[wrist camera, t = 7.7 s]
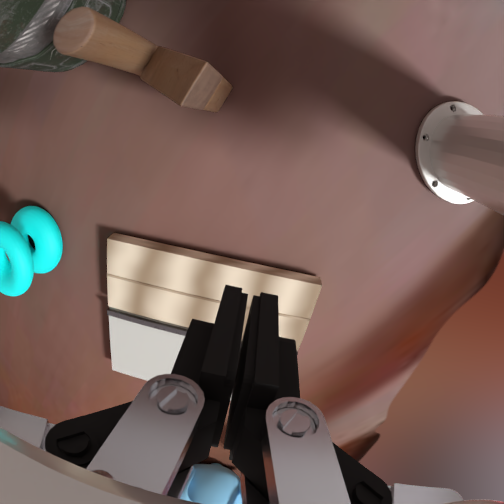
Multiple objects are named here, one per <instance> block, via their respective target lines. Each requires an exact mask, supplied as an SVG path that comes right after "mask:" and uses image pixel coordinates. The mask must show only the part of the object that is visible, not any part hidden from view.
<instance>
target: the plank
mask: <svg viewBox="0 0 504 504" xmlns="http://www.w3.org/2000/svg"><path fill="white" fill-rule="evenodd" d="M225 285H230V286H235V287H239V288H242V293H246V294H248V299H247V305H246V312H245V319H244V326H243V333H242V339H243V335H244V331H245V327H246V323H247V319H248V315H249V311H250V306H251V302H252V298H253V295H255V296H260V293H261V292H263V293H268V294H273V295H278V310H279V337H283V338H288V339H294V340H295V341H296V350H299V347H300V344H301V342H302V339H303V337H304V334H305V331H306V329H307V326H308V323H309V321H310V318H311V315H312V312H313V310H314V307H315V304H316V301H317V298H318V296H319V293H320V290H321V287H322V283H321V279H320V277H316V276H311V275H307V274H302V273H297V272H292V271H288V270H283V269H278V268H274V267H269V266H264V265H259V264H255V263H250V262H245V261H241V260H236V259H231V258H227V257H222V256H218V255H213V254H208V253H204V252H199V251H195V250H190V249H185V248H181V247H176V246H172V245H167V244H163V243H158V242H154V241H149V240H145V239H140V238H136V237H131V236H127V235H122V234H118V233H113V234H112V235H111V236H110V237H108V238H107V289H108V306H109V307H113V308H116V309H120V310H123V311H127V312H130V313H134V314H137V315H141V316H145V317H149V318H152V319H156V320H160V321H164V322H168V323H172V324H176V325H180V326H184V327H188V328H189V325H190V322H191V320H192V319H196V320H201V321H205V322H209V323H215V319H216V316H217V312H218V309H219V305H220V302H221V298H222V295H223V291H224V288H225Z"/></svg>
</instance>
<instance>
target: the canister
mask: <svg viewBox="0 0 504 504" xmlns="http://www.w3.org/2000/svg"><path fill="white" fill-rule="evenodd" d="M125 4H126V0H0V67H5V68H17V69H28V70H37V71H48V72H64V71H68V70H71V69H74V68H76V67H78V66H80V65H82V64H84V63H85V62H86V61H88V60H84V59H80V58H76V57H71V56H67V55H63V54H61V53H59V52H58V51H57V50H56V48H55V46H54V44H53V34H54V30H55V27H56V25H57V23H58V22H59V20H60V19H61V18H62V17H63V16H64V15H65V14H66V13H67V12H69V11H70V10H72V9H74V8H78V7H89V8H91V9H93V10H95V11H97V12H98V13H100V14H102V15H104V16H106V17H108V18H110V19H112V20H113V21H115V22H117V23H119V22H120V19H121V17H122V16H123V13H124V9H125Z"/></svg>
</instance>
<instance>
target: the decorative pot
mask: <svg viewBox="0 0 504 504" xmlns="http://www.w3.org/2000/svg"><path fill="white" fill-rule="evenodd" d="M180 499H182V500H187V501H191V502H196V503H201V504H242V495H241V483H240V478H239V477H238V476H237V475H236V474H235V473H234V472H233V471H231V470H230V469H228V468H226V467H224V466H222V465H221V464H218V463H212V464H195V465H193V470H192V472H191V474H190V477H189V479H188V481H187V484H186V486H185V488H184V491H183V493H182V495H181V497H180Z"/></svg>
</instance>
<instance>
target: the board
mask: <svg viewBox="0 0 504 504" xmlns="http://www.w3.org/2000/svg"><path fill="white" fill-rule="evenodd" d="M107 315H109V330H110V346H111V359H112V370H114V371H118V372H121V373H124V374H127V375H130V376H133V377H137V378H140V379H144V380H147V381H149V380H150V379H151V378H153V377H155V376H157V375H163V374H171V372H172V369H173V366H174V364H175V361H176V359H177V356H178V353H179V351H180V348H181V346H182V343H183V340H184V338H185V335H186V333H187V330H188V327H184V326H180V325H176V324H172V323H168V322H164V321H160V320H156V319H152V318H149V317H145V316H141V315H137V314H134V313H130V312H127V311H123V310H120V309H116V308H113V307H109V308H108V310H107ZM241 343H242V339H241ZM240 347H241V346H240ZM297 355H298V352H297ZM231 396H232V395H231ZM230 401H231V399H230Z"/></svg>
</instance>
